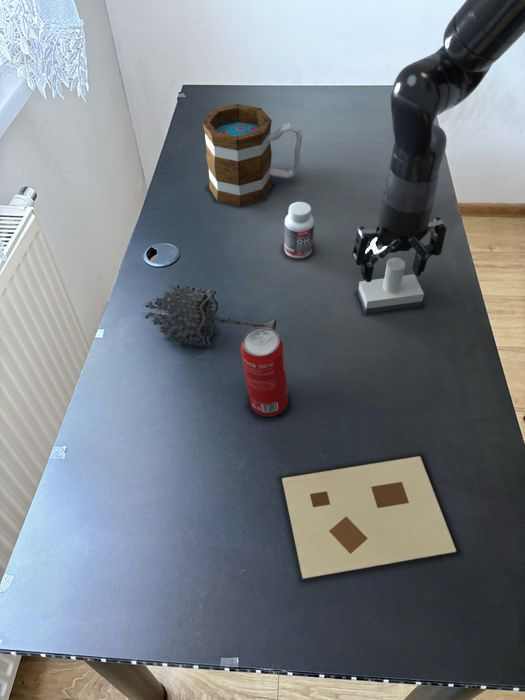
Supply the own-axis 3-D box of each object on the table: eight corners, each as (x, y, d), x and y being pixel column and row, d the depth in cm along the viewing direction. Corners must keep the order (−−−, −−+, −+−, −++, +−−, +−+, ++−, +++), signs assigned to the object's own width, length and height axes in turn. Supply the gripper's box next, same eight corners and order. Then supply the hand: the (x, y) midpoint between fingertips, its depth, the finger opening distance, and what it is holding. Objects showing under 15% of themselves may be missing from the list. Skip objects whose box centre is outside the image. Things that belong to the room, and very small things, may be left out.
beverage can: (294, 408, 91) (296, 344, 79) (257, 426, 89) (254, 363, 77) (274, 381, 94) (274, 316, 83) (238, 398, 92) (232, 334, 81)
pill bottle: (299, 263, 112) (301, 221, 104) (278, 250, 114) (278, 208, 107) (318, 249, 114) (321, 207, 107) (296, 237, 117) (298, 195, 109)
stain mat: (419, 456, 85) (420, 456, 85) (456, 552, 76) (456, 551, 76) (281, 478, 83) (282, 478, 83) (302, 579, 74) (302, 578, 74)
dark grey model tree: (269, 367, 96) (268, 328, 89) (139, 349, 99) (128, 310, 92) (279, 325, 102) (279, 285, 95) (156, 309, 105) (147, 269, 98)
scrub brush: (411, 286, 107) (420, 250, 101) (420, 306, 104) (430, 269, 97) (357, 293, 106) (362, 257, 100) (365, 313, 103) (371, 277, 97)
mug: (207, 207, 123) (200, 140, 112) (210, 169, 132) (203, 104, 121) (302, 204, 123) (305, 138, 112) (298, 167, 132) (300, 102, 120)
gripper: (369, 216, 85) (356, 296, 97) (464, 205, 86) (440, 285, 99) (355, 185, 90) (345, 266, 102) (445, 175, 91) (424, 256, 104)
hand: (391, 275), depth 100 cm, fingers open, 8 cm apart
